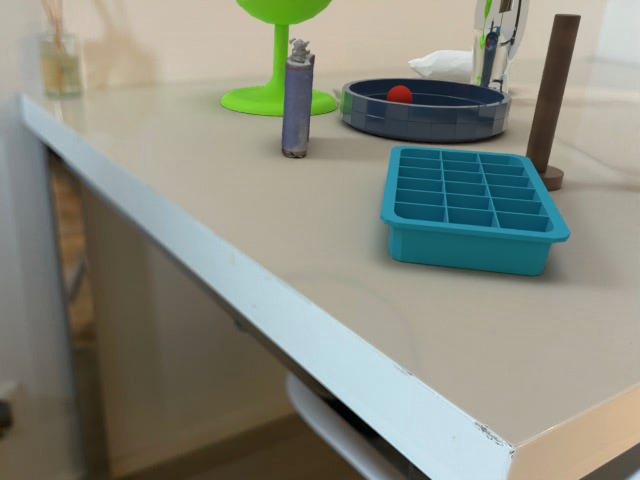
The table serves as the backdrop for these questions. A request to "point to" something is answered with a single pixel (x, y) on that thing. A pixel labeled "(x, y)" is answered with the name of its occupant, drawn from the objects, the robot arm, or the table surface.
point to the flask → (297, 99)
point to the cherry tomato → (400, 95)
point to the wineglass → (277, 58)
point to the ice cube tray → (469, 210)
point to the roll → (444, 65)
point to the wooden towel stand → (552, 98)
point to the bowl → (426, 110)
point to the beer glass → (496, 40)
